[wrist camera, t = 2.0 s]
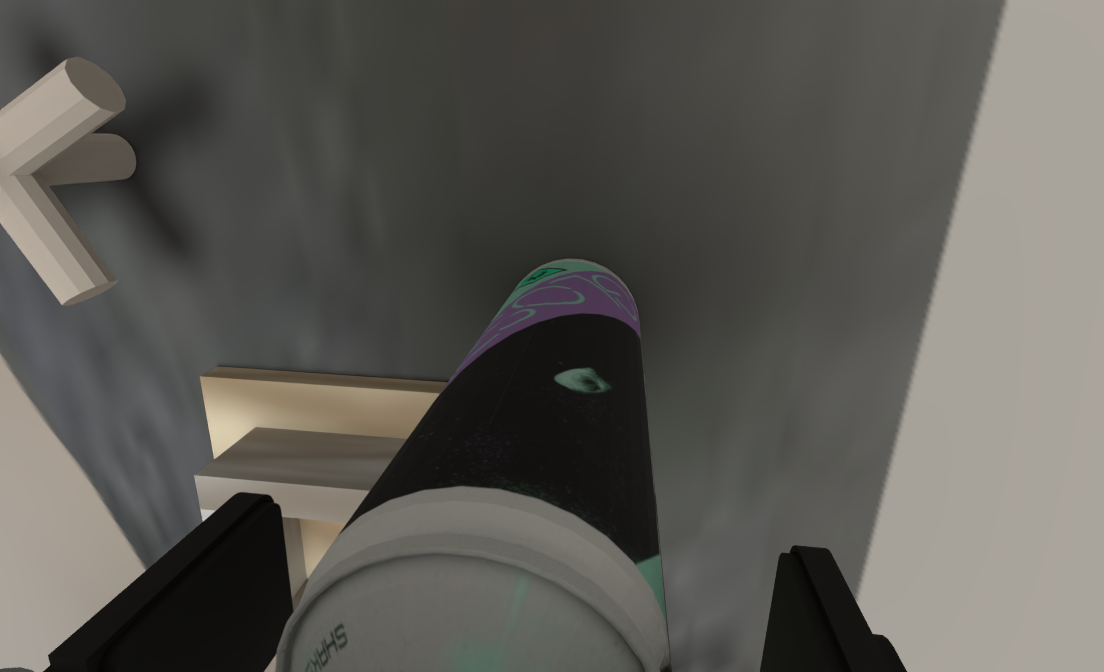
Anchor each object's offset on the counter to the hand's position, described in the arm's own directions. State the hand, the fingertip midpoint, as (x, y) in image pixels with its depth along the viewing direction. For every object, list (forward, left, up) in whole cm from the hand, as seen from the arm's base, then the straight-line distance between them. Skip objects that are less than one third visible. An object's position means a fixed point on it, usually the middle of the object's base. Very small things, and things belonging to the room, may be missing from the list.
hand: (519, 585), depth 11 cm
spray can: (-1, 0, -15) cm, 15 cm away
